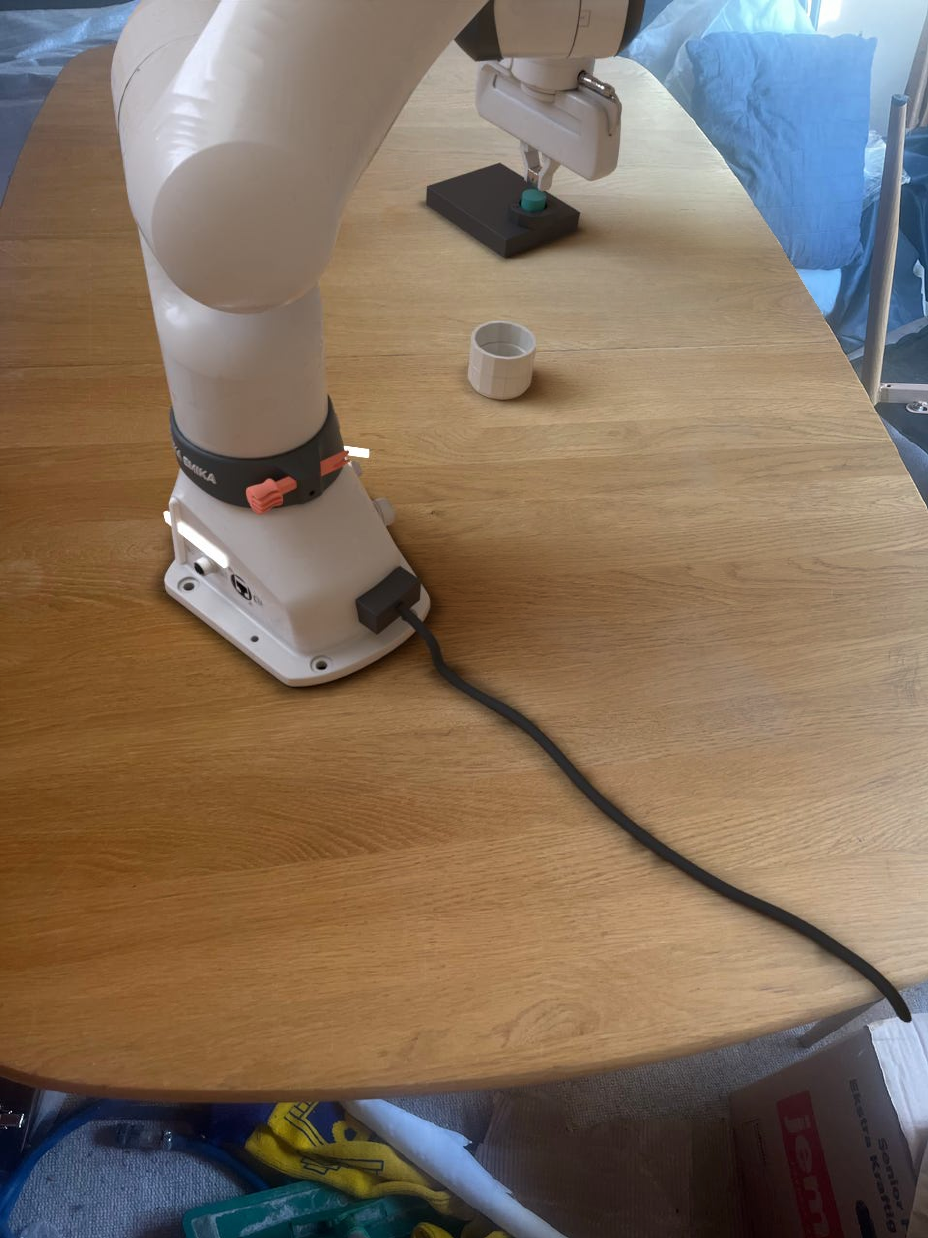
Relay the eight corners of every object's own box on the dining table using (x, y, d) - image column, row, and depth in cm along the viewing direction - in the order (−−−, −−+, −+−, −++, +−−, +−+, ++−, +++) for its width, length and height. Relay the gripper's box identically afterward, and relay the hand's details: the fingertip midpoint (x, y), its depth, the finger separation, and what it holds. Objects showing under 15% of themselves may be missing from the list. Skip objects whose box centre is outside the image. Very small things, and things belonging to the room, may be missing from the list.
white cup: (543, 386, 98) (550, 344, 94) (495, 409, 95) (500, 366, 91) (502, 355, 101) (507, 313, 97) (454, 376, 98) (458, 333, 94)
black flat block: (580, 232, 118) (586, 200, 115) (507, 260, 113) (511, 228, 110) (498, 180, 125) (501, 149, 122) (425, 204, 120) (426, 172, 117)
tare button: (549, 209, 114) (551, 196, 113) (531, 215, 113) (533, 202, 111) (533, 199, 115) (535, 186, 114) (516, 205, 114) (517, 192, 113)
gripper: (645, 85, 98) (619, 216, 108) (513, 18, 107) (501, 144, 118) (601, 99, 95) (579, 231, 106) (469, 28, 104) (461, 157, 115)
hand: (537, 185), depth 112 cm, fingers closed
